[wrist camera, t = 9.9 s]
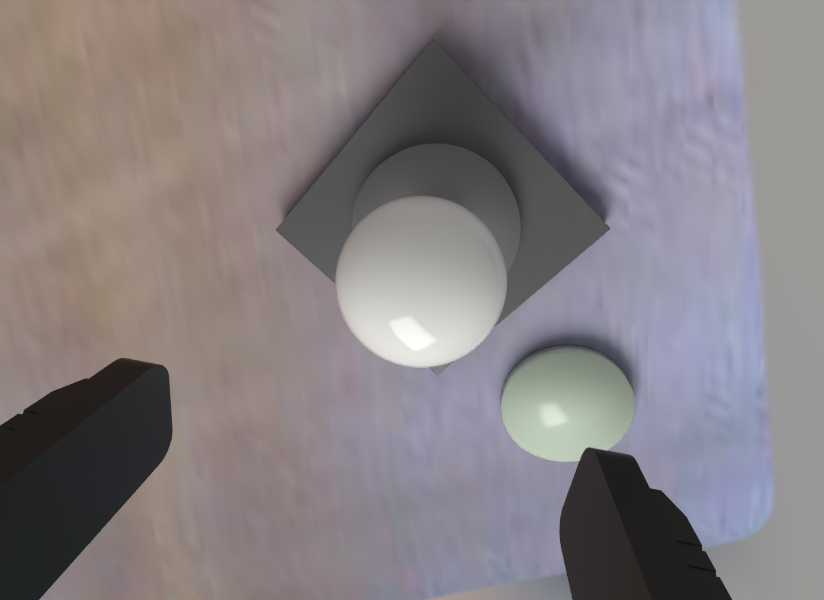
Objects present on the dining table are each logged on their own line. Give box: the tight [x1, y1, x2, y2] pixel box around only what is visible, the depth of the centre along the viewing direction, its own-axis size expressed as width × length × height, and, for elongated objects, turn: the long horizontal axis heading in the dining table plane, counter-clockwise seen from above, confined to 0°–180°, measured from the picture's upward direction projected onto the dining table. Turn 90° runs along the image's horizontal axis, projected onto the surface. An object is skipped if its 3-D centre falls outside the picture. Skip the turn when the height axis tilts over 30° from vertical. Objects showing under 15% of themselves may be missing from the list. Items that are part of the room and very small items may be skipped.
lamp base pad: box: [276, 39, 610, 375], centre depth 25 cm, size 13×13×2 cm
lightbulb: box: [335, 195, 507, 368], centre depth 19 cm, size 6×6×11 cm
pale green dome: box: [501, 345, 635, 462], centre depth 29 cm, size 8×8×1 cm
